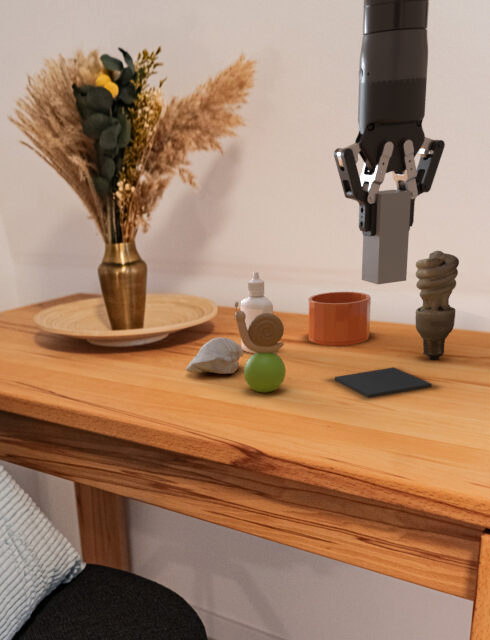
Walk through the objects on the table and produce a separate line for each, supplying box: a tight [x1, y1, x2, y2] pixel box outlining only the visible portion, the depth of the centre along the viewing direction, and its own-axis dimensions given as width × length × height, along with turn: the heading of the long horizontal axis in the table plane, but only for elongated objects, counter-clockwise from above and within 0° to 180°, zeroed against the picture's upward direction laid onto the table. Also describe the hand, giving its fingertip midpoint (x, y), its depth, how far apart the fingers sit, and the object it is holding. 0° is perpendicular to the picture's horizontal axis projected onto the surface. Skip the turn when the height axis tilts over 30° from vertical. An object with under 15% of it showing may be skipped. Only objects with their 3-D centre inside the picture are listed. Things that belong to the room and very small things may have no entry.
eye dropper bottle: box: [239, 271, 274, 354], centre depth 128 cm, size 4×6×12 cm
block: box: [361, 189, 411, 285], centre depth 104 cm, size 4×4×10 cm
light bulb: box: [415, 250, 460, 361], centre depth 116 cm, size 6×6×15 cm
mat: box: [334, 367, 432, 399], centre depth 111 cm, size 9×9×1 cm
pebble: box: [185, 336, 244, 375], centre depth 121 cm, size 9×8×5 cm
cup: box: [307, 291, 372, 346], centre depth 133 cm, size 9×9×6 cm
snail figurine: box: [234, 301, 287, 394], centre depth 109 cm, size 5×6×12 cm
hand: (386, 232), depth 103 cm, fingers closed on block, 4 cm apart
